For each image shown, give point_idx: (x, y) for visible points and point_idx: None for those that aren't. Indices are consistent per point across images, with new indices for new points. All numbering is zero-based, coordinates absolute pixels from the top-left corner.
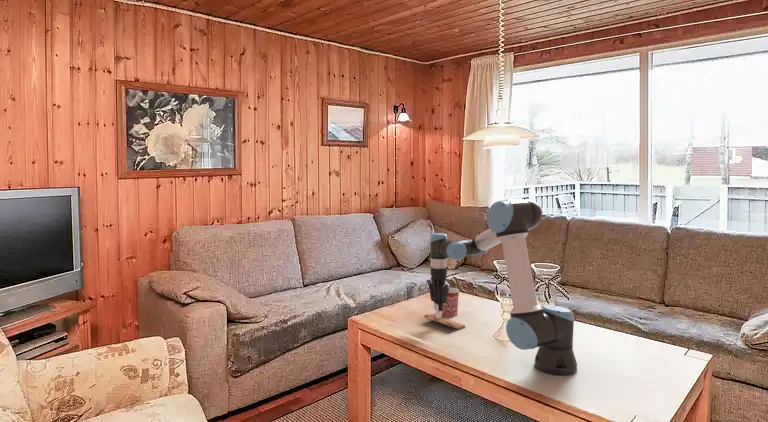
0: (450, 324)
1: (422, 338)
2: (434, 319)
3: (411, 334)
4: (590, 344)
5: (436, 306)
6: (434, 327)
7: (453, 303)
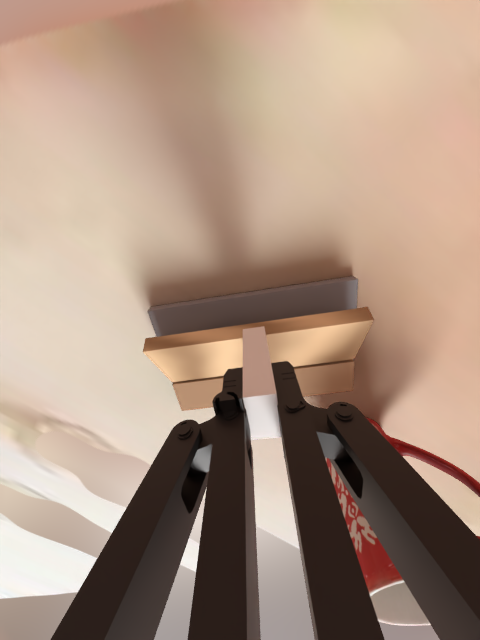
0: (152, 343)
1: (175, 138)
2: (281, 324)
3: (274, 114)
4: None
5: (258, 378)
6: (260, 297)
7: (342, 503)
